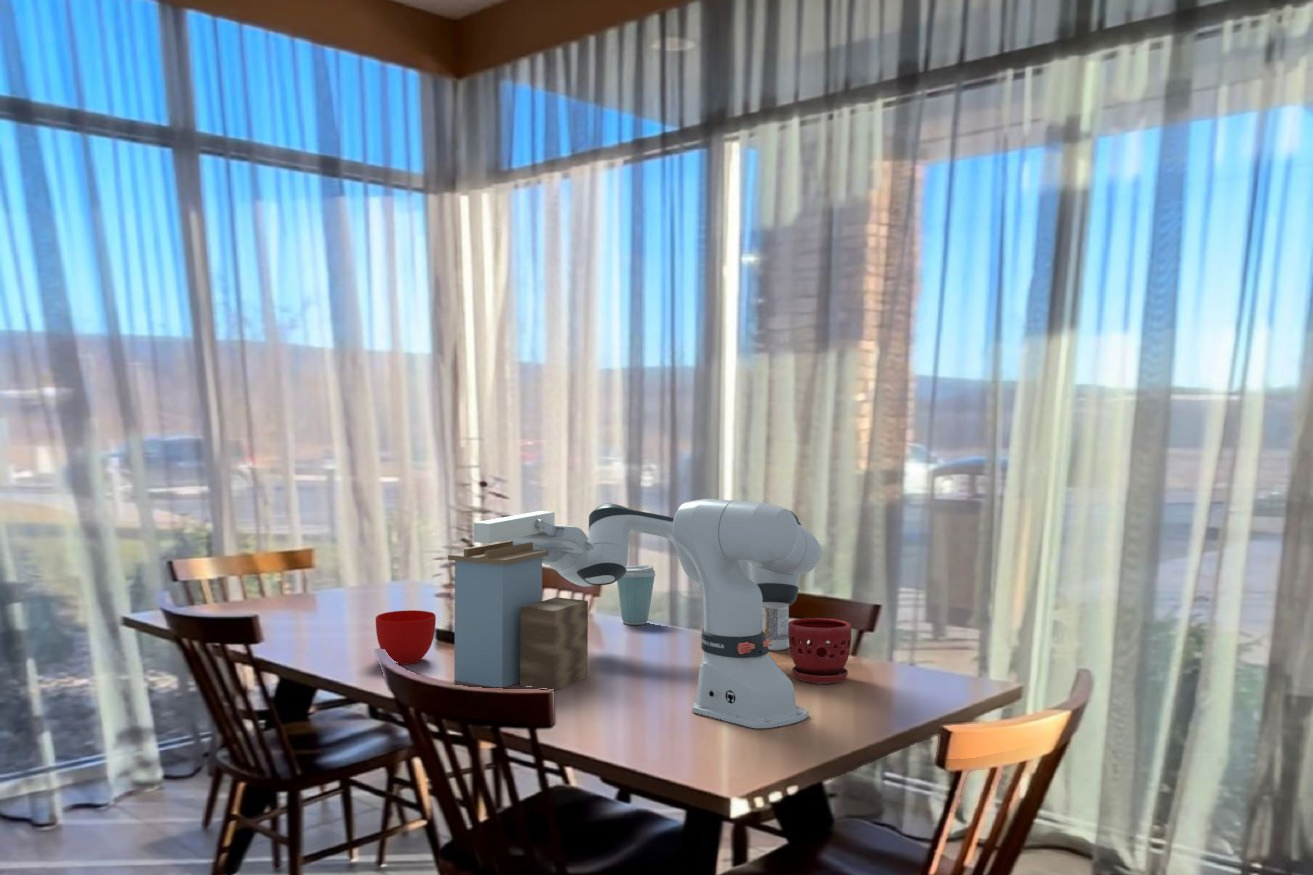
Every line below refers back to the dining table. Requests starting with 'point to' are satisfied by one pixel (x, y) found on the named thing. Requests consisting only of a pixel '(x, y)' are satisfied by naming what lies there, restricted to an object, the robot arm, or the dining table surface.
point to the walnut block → (553, 643)
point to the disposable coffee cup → (636, 594)
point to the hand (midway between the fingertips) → (527, 521)
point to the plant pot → (819, 649)
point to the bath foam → (776, 627)
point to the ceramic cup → (406, 634)
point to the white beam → (510, 526)
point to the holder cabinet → (493, 609)
